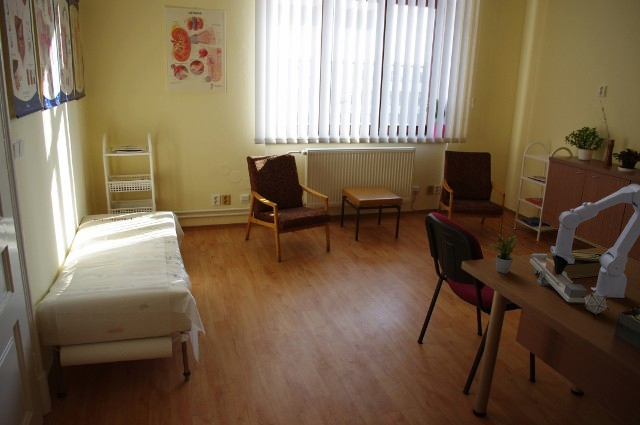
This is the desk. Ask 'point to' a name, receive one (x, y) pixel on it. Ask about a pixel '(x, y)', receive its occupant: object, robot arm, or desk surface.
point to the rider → (551, 267)
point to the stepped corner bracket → (546, 283)
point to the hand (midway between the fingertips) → (558, 273)
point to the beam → (559, 281)
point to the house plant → (504, 254)
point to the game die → (595, 302)
